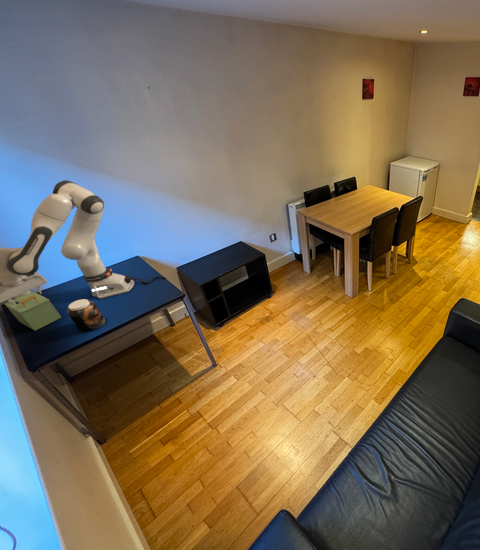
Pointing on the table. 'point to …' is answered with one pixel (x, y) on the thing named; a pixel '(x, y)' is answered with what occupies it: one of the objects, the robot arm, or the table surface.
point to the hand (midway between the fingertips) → (28, 299)
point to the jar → (85, 315)
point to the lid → (27, 302)
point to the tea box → (37, 315)
